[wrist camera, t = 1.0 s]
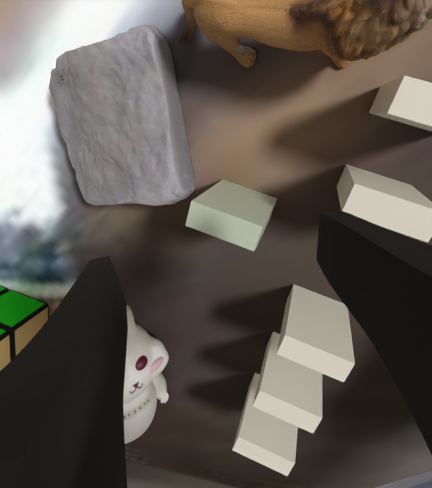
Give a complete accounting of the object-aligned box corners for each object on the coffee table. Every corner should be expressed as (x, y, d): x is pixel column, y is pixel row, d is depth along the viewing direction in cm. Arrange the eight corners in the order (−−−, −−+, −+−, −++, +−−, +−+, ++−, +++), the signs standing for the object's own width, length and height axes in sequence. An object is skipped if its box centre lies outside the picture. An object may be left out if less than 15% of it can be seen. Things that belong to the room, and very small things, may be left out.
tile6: (254, 372, 32) (238, 436, 25) (300, 392, 31) (294, 463, 25) (249, 384, 32) (232, 450, 26) (294, 404, 32) (287, 476, 25)
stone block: (117, 203, 32) (209, 195, 27) (75, 216, 28) (174, 209, 23) (82, 64, 28) (179, 25, 24) (29, 56, 25) (133, 8, 20)
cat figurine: (97, 500, 29) (57, 379, 22) (62, 435, 35) (20, 320, 28) (185, 428, 35) (174, 314, 28) (143, 381, 40) (125, 275, 33)
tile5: (272, 331, 30) (259, 390, 23) (322, 351, 29) (322, 418, 23) (266, 345, 30) (252, 406, 24) (314, 365, 30) (313, 433, 23)
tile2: (346, 164, 23) (354, 183, 17) (411, 185, 23) (445, 213, 16) (336, 186, 24) (341, 212, 18) (399, 207, 23) (427, 242, 17)
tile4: (293, 284, 27) (285, 335, 21) (347, 304, 27) (354, 363, 21) (286, 300, 28) (276, 353, 22) (338, 320, 27) (343, 382, 21)
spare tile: (222, 179, 26) (191, 200, 20) (277, 198, 25) (263, 226, 19) (217, 198, 27) (185, 225, 20) (270, 217, 26) (254, 251, 20)
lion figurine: (427, -45, 19) (509, -166, 10) (414, 64, 20) (474, 34, 12) (177, -1, 23) (97, -62, 15) (184, 87, 25) (117, 75, 16)
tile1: (380, 86, 21) (404, 75, 15) (453, 106, 20) (510, 104, 14) (368, 113, 22) (387, 113, 16) (439, 133, 21) (487, 142, 15)
